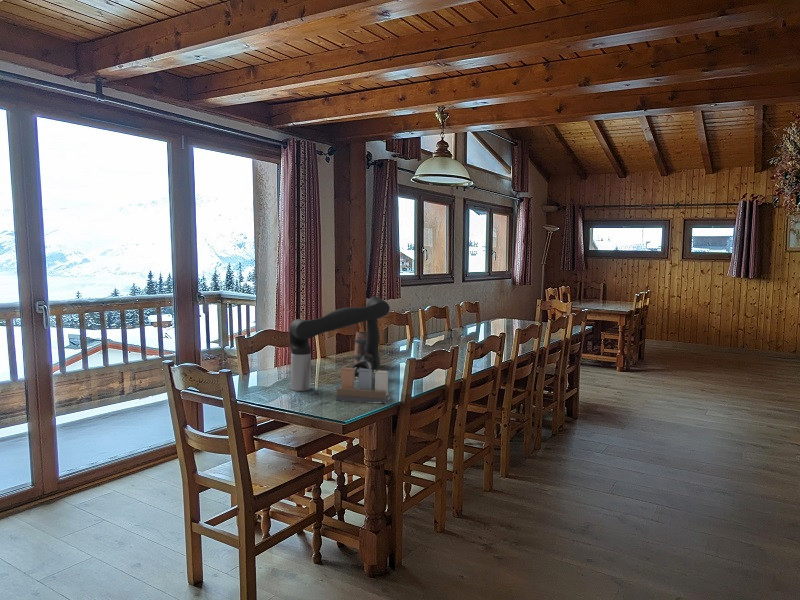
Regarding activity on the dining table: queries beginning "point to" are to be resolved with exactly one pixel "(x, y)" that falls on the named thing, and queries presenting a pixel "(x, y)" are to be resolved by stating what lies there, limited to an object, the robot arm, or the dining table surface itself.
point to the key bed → (347, 398)
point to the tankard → (360, 347)
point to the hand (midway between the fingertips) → (352, 375)
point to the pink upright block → (348, 378)
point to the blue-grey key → (365, 379)
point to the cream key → (381, 381)
